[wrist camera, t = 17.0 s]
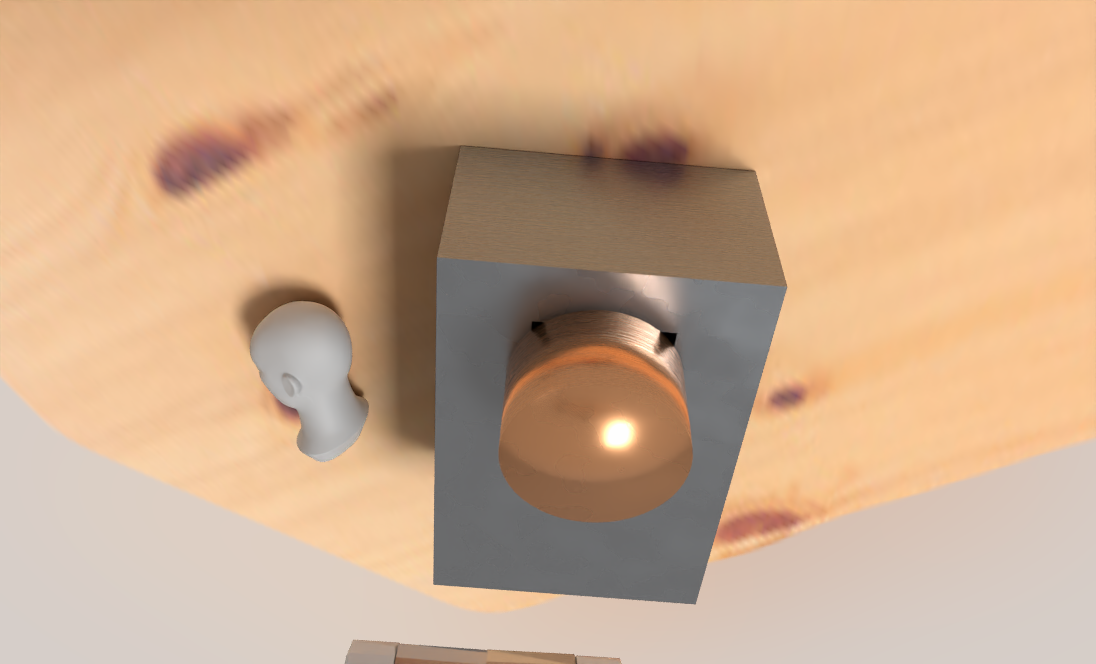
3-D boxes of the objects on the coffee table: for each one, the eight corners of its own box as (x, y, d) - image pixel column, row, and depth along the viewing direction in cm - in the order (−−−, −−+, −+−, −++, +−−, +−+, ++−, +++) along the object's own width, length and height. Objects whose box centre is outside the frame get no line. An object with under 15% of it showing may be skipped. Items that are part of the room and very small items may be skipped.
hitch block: (452, 457, 50) (433, 584, 44) (461, 145, 39) (436, 257, 33) (682, 475, 51) (695, 604, 44) (755, 171, 40) (787, 286, 33)
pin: (512, 326, 44) (494, 515, 35) (521, 199, 40) (503, 378, 31) (658, 338, 44) (675, 529, 35) (682, 213, 40) (709, 394, 31)
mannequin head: (267, 271, 45) (365, 290, 44) (299, 401, 50) (388, 422, 48) (211, 325, 42) (315, 347, 40) (251, 458, 47) (345, 482, 45)
